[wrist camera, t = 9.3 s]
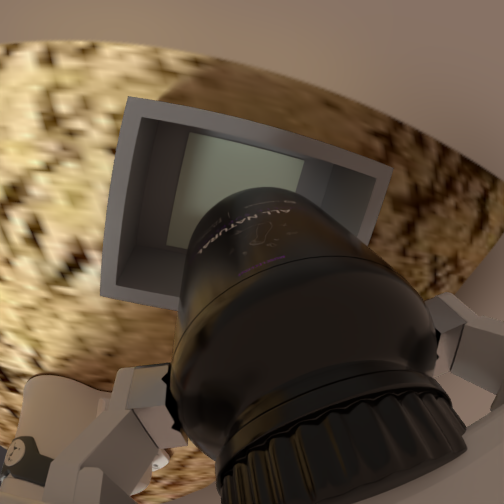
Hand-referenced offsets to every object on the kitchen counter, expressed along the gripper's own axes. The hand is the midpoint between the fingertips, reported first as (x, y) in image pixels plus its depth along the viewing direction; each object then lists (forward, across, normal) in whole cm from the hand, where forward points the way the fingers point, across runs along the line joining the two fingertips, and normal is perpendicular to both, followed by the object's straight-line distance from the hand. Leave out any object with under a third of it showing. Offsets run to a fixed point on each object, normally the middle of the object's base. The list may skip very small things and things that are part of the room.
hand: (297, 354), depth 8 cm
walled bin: (+19, 0, 0) cm, 19 cm away
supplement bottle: (+7, 0, 0) cm, 7 cm away
